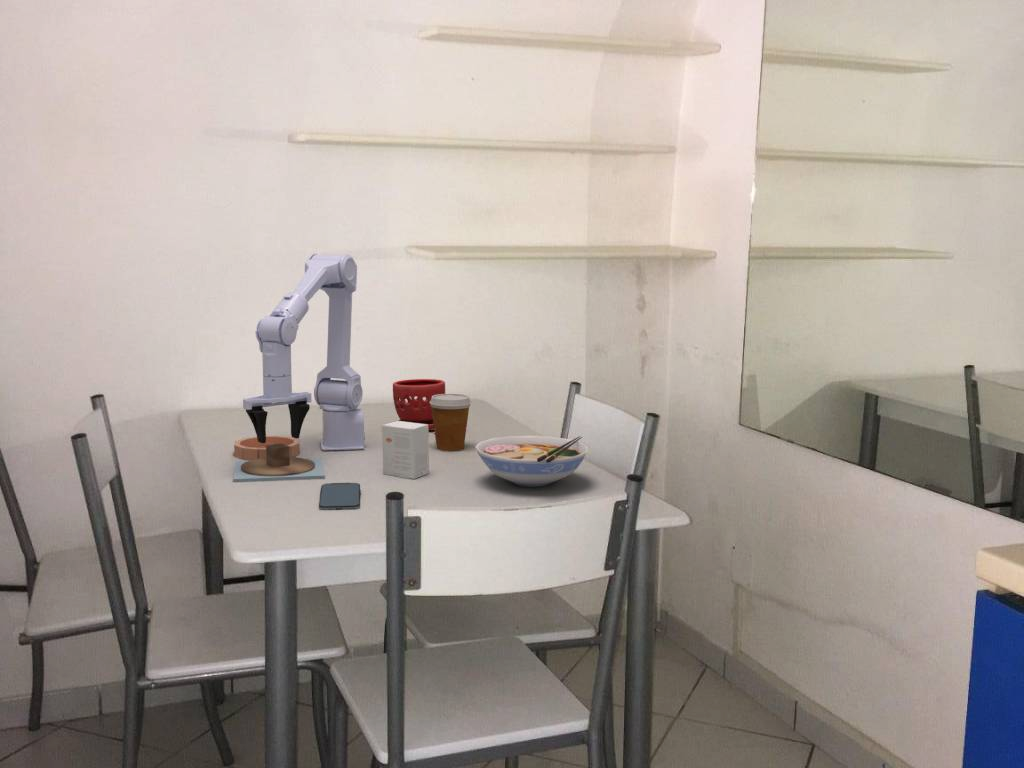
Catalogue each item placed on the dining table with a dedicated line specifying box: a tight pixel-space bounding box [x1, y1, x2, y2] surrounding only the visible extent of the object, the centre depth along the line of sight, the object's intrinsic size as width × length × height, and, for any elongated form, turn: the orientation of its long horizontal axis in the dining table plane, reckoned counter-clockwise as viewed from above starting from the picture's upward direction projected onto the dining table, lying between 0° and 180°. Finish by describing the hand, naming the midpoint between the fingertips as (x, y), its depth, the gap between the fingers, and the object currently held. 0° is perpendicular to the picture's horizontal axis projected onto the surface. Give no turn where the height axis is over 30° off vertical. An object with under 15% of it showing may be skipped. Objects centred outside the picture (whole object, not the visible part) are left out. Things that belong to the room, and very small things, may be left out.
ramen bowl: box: [474, 435, 589, 488], centre depth 213 cm, size 25×23×8 cm
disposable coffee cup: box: [430, 393, 472, 452], centre depth 243 cm, size 10×10×12 cm
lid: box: [241, 444, 315, 476], centre depth 220 cm, size 15×15×5 cm
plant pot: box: [392, 378, 446, 432], centre depth 266 cm, size 13×13×12 cm
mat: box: [232, 457, 326, 483], centre depth 221 cm, size 18×16×1 cm
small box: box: [381, 420, 430, 480], centre depth 219 cm, size 8×6×10 cm
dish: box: [233, 435, 300, 461], centre depth 236 cm, size 14×14×2 cm
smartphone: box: [318, 482, 362, 511], centre depth 200 cm, size 8×2×15 cm
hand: (278, 440), depth 220 cm, fingers open, 7 cm apart
